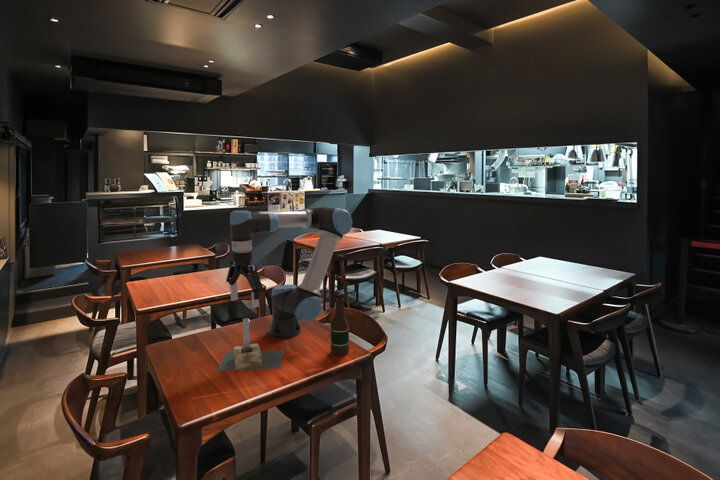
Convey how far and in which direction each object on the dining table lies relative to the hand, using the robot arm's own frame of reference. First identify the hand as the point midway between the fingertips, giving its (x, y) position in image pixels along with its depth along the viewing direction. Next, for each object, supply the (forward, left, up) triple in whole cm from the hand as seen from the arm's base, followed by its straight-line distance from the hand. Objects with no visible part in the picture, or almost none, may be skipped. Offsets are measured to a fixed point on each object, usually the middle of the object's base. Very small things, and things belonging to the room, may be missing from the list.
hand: (244, 303), depth 156 cm
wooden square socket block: (0, +1, -24) cm, 24 cm away
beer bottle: (-38, +5, -25) cm, 46 cm away
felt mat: (-2, 0, -25) cm, 25 cm away
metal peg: (0, +1, -24) cm, 24 cm away
